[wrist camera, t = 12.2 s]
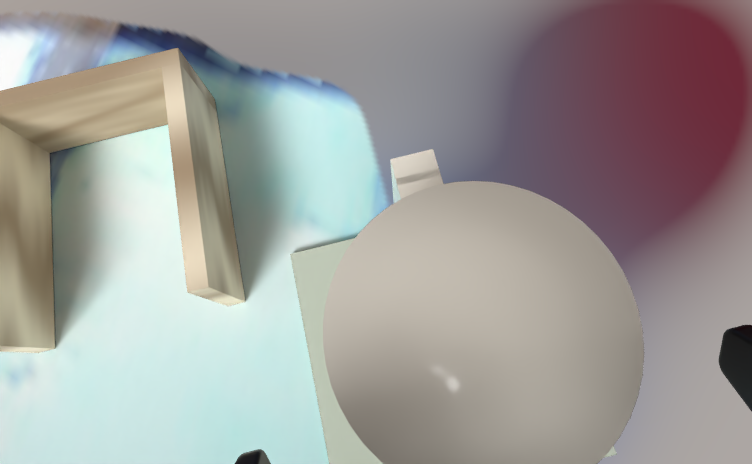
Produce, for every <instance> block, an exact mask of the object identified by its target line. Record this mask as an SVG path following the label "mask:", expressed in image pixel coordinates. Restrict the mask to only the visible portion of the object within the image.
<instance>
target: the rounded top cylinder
mask: <svg viewBox="0 0 752 464" xmlns="http://www.w3.org/2000/svg"><path fill="white" fill-rule="evenodd" d="M390 162H391V174H392V187H393V200H394V204H392V205H391V206H389V207H388V208H386V209H385V210H383V211H382V212H381V213H380V214H378V215H377V216H376V217H375V218H374V219H372V220H371V221H370V222H369V223H368V224H367V225H366V226H365V227H364V228H363V230H362V231H361V232H360V233H359V234H358V235H357V236H356V238H355V239H354V240H353V242H352V243H351V244H350V246H349V247H348V249H347V250H346V252H345V254H344V256H343V257H342V259H341V261H340V263H339V265H338V266H337V269H336V271H335V274H334V276H333V279H332V281H331V284H330V288H329V292H328V296H327V299H326V303H325V311H324V319H323V348H324V355H325V363H326V368H327V372H328V376H329V379H330V383H331V387H332V389H333V392H334V394H335V397H336V399H337V402H338V404H339V406H340V408H341V410H342V412H343V414H344V415H345V417H346V419H347V421H348V423H349V424H350V426H351V427H352V429H353V430H354V431H355V433H356V434H357V435H358V437H359V438H360V440H361V441H362V442H363V444H364V445H365V446H366V447H367V448H368V449H369V450H370V451H371V452H372V453H373V454H374V455H375V456H376V457H377V458H378V459H379V460H380V461H381V462H382V463H384V464H597V463H598V462H599V461H600V460H602V458H604V457H605V456H606V455H607V453H608V452H609V451H610V449H611V448H612V447H613V445H614V444H615V443H616V441H617V440H618V439H619V437H620V436H621V434H622V432H623V430H624V428H625V426H626V425H627V423H628V421H629V419H630V417H631V414H632V412H633V409H634V406H635V404H636V401H637V398H638V395H639V390H640V385H641V380H642V376H643V363H644V343H643V330H642V325H641V321H640V315H639V310H638V307H637V304H636V301H635V298H634V295H633V292H632V289H631V287H630V285H629V283H628V281H627V279H626V276H625V274H624V272H623V270H622V269H621V267H620V266H619V264H618V262H617V261H616V259H615V258H614V256H613V255H612V253H611V252H610V250H608V248H607V247H606V246H605V244H604V243H603V242H602V241H601V240H600V238H599V237H598V236H597V235H596V234H595V233H594V232H593V231H592V230H591V229H590V228H589V227H587V225H586V224H585V223H584V222H582V221H581V220H580V219H578V218H577V217H576V216H574V215H573V214H572V213H571V212H569V211H568V210H567V209H565V208H563V207H561V206H560V205H558V204H556V203H555V202H553V201H551V200H549V199H547V198H545V197H543V196H541V195H538V194H536V193H534V192H531V191H528V190H525V189H522V188H519V187H515V186H512V185H507V184H501V183H495V182H484V181H466V182H453V183H447V184H443V181H442V178H441V174H440V171H439V168H438V164H437V161H436V158H435V155H434V151H433V149H431V150H427V151H423V152H418V153H414V154H410V155H406V156H402V157H398V158H394V159H391V160H390Z"/></svg>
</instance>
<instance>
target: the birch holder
mask: <svg viewBox="0 0 752 464" xmlns="http://www.w3.org/2000/svg"><path fill="white" fill-rule="evenodd" d="M167 124H168V127H169V136H170V144H171V153H172V162H173V171H174V179H175V188H176V197H177V206H178V214H179V223H180V232H181V240H182V249H183V258H184V267H185V275H186V284H187V292H188V293H191V294H194V295H197V296H200V297H203V298H206V299H208V300H211V301H214V302H217V303H220V304H223V305H226V306H231V305H235V304H239V303H243V302H245V296H244V289H243V283H242V276H241V269H240V263H239V256H238V250H237V243H236V236H235V230H234V223H233V217H232V210H231V203H230V197H229V190H228V184H227V177H226V170H225V164H224V157H223V151H222V144H221V137H220V131H219V124H218V117H217V111H216V104H215V99H214V97H213V96H212V95H211V93H210V92H209V90H208V89H207V88H206V86H205V85H204V84H203V82H202V81H201V79H200V78H199V77H198V75H197V74H196V72H195V71H194V70H193V68H192V67H191V65H190V64H189V63H188V61H187V60H186V58H185V57H184V56H183V54H182V53H181V52H180V50H179V49H178V48H175V49H171V50H167V51H163V52H158V53H154V54H150V55H146V56H142V57H138V58H134V59H130V60H126V61H121V62H117V63H113V64H109V65H105V66H101V67H97V68H93V69H88V70H84V71H80V72H76V73H72V74H68V75H64V76H60V77H56V78H51V79H47V80H43V81H39V82H35V83H31V84H27V85H23V86H19V87H14V88H10V89H6V90H2V91H0V352H26V353H40V352H44V351H48V350H52V349H55V325H54V289H53V252H52V216H51V180H50V153H52V152H56V151H60V150H64V149H68V148H72V147H77V146H81V145H85V144H89V143H93V142H97V141H101V140H105V139H109V138H113V137H118V136H122V135H126V134H130V133H134V132H138V131H142V130H146V129H150V128H155V127H159V126H163V125H167Z"/></svg>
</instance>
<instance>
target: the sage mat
mask: <svg viewBox="0 0 752 464" xmlns="http://www.w3.org/2000/svg"><path fill="white" fill-rule="evenodd" d="M354 239H355V238H353V239H349V240H345V241H341V242H337V243H333V244H329V245H325V246H321V247H316V248H312V249H308V250H304V251H300V252H296V253H292V254H290V255H291V260H292V266H293V271H294V277H295V282H296V287H297V293H298V298H299V303H300V309H301V314H302V320H303V325H304V330H305V336H306V341H307V346H308V352H309V357H310V362H311V368H312V373H313V379H314V384H315V389H316V395H317V400H318V405H319V411H320V416H321V422H322V427H323V432H324V438H325V443H326V448H327V454H328V459H329V464H384V463H382V462H381V461H380V460H379V459H378V458H377V457H376V456H375V455H374V454H373V453H372V452H371V451H370V450H369V449H368V448H367V447H366V446H365V445H364V444H363V442H362V441H361V440H360V438H359V437H358V435H357V434H356V433H355V431H354V430H353V429H352V427H351V426H350V424H349V423H348V421H347V419H346V417H345V415H344V414H343V412H342V410H341V408H340V406H339V404H338V402H337V399H336V397H335V394H334V392H333V389H332V387H331V383H330V379H329V376H328V372H327V368H326V363H325V355H324V348H323V319H324V311H325V303H326V299H327V296H328V292H329V288H330V284H331V281H332V279H333V276H334V274H335V271H336V269H337V266H338V265H339V263H340V261H341V259H342V257H343V256H344V254H345V252H346V250H347V249H348V247H349V246H350V244H351V243H352V242H353V240H354ZM612 455H616V451H615V448H614V445H613V447H612V448H611V449H610V451H609V452H608V453H607V455H606V456H605V457H609V456H612Z"/></svg>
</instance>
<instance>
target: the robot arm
mask: <svg viewBox="0 0 752 464" xmlns="http://www.w3.org/2000/svg"><path fill="white" fill-rule="evenodd" d="M719 365H720V368H721V370H722V372H723V374H724V375H725V376H726V378H727V379H728V380H729V382H730V383H731V384H732V386H733V387H734V388H735V390H736V391H737V393H738V394H739V395H740V397H741V398H742V399H743V400H744V402H745V403H746V404H747V406H748V407H749V409H750V410H751V411H752V325H742V326H739V327H735V328H731V329H728V330H726V332H725V333H724V335H723V340H722V345H721V350H720V355H719ZM235 464H271V463H270V461H269V459H268V457H267V455H266V453H265V452H264V451H263V450H261V449H258V450H254V451H250V452H246V453H243V454H242V455H240V456H239V457H238V459H237V461H236V462H235Z"/></svg>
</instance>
